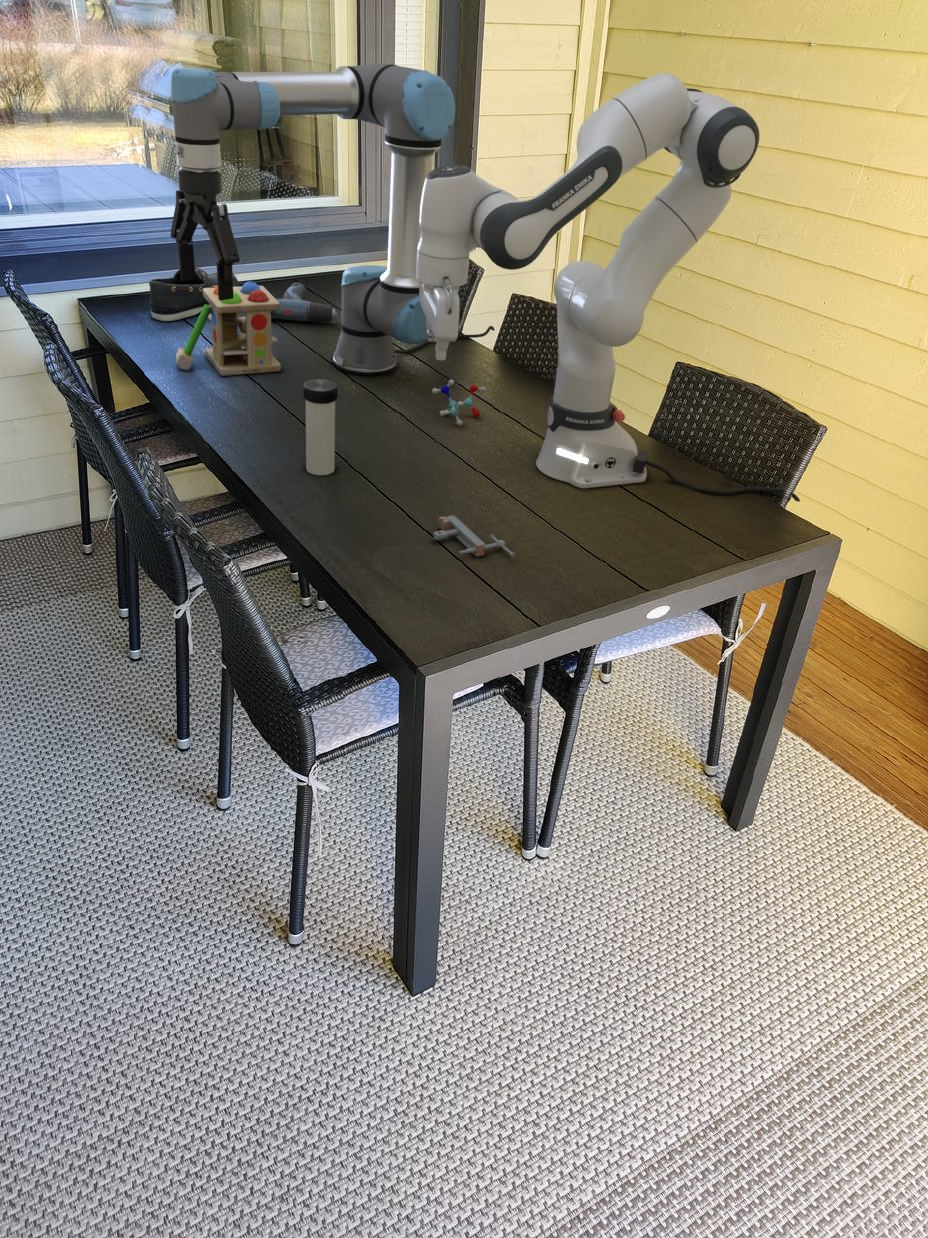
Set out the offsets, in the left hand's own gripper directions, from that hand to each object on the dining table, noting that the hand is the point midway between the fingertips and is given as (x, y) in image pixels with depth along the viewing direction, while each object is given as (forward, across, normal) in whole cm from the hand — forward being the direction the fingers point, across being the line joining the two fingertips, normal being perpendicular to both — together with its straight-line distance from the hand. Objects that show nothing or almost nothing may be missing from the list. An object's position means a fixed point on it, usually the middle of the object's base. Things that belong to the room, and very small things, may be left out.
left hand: (206, 289), depth 186 cm
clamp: (+28, +66, +10) cm, 72 cm away
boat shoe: (+28, -71, +37) cm, 85 cm away
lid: (+11, +27, +7) cm, 30 cm away
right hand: (+2, +43, +20) cm, 48 cm away
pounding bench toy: (+28, -29, +20) cm, 45 cm away
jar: (+28, +27, +7) cm, 40 cm away
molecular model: (+28, +23, +46) cm, 59 cm away
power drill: (+28, -53, +60) cm, 84 cm away
